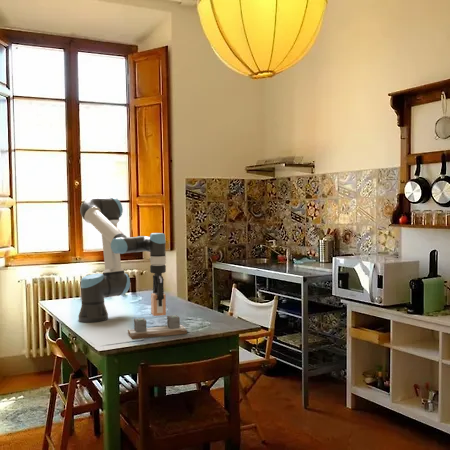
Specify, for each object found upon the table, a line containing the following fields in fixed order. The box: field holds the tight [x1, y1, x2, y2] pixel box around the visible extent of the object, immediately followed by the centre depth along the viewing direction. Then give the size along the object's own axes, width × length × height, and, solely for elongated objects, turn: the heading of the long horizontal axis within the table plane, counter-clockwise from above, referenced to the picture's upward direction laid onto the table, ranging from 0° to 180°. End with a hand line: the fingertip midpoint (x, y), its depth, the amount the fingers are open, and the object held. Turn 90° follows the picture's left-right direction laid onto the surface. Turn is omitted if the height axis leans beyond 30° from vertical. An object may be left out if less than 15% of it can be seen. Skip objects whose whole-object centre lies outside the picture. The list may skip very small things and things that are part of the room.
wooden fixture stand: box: [127, 314, 188, 340], centre depth 244 cm, size 12×25×7 cm, turn 109°
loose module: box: [150, 292, 167, 317], centre depth 261 cm, size 6×6×10 cm
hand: (158, 311), depth 261 cm, fingers closed on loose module, 6 cm apart
